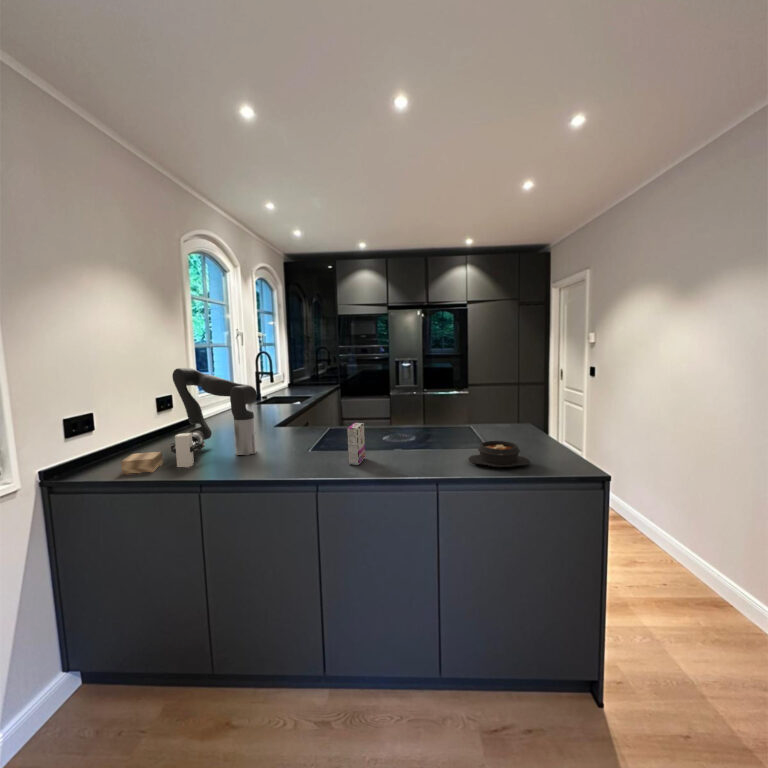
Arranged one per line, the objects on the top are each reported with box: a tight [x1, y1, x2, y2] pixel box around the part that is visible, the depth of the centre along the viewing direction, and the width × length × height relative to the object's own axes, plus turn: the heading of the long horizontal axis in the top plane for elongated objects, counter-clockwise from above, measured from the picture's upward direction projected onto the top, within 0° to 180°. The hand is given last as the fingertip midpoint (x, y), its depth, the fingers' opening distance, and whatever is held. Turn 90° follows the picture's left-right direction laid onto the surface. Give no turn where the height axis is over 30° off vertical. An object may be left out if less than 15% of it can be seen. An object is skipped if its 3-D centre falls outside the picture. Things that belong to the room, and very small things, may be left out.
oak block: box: [120, 451, 164, 475], centre depth 174 cm, size 12×12×6 cm
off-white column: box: [174, 432, 195, 468], centre depth 177 cm, size 6×6×14 cm
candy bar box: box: [346, 422, 366, 464], centre depth 176 cm, size 11×5×16 cm, turn 168°
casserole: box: [467, 440, 531, 468], centre depth 168 cm, size 25×19×8 cm
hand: (183, 450), depth 174 cm, fingers open, 6 cm apart
